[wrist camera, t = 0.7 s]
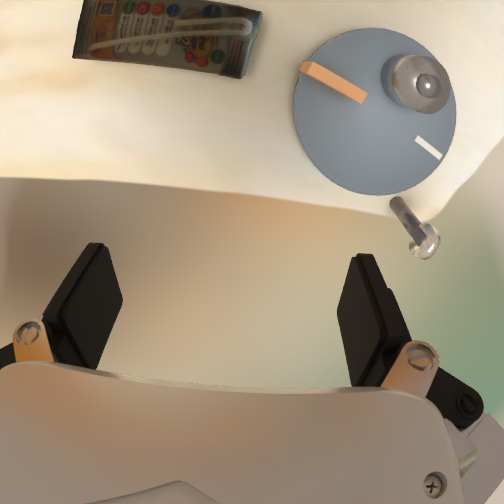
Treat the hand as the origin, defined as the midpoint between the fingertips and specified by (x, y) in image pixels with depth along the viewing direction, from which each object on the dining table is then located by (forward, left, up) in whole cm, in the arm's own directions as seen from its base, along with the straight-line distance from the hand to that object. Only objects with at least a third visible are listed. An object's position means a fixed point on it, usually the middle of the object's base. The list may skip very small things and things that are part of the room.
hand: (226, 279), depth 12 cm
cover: (-14, +12, -24) cm, 31 cm away
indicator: (0, +22, -28) cm, 36 cm away
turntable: (-9, +12, -26) cm, 30 cm away
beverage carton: (-7, -13, -28) cm, 32 cm away
